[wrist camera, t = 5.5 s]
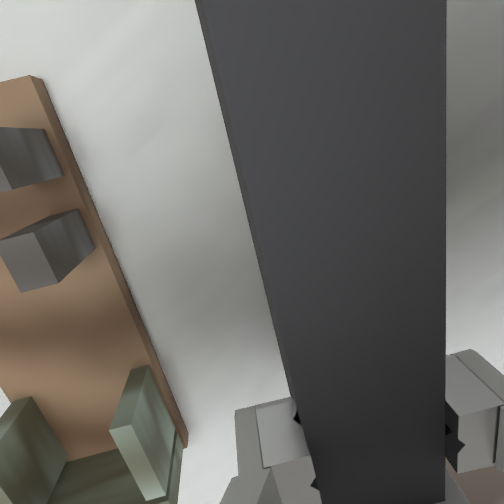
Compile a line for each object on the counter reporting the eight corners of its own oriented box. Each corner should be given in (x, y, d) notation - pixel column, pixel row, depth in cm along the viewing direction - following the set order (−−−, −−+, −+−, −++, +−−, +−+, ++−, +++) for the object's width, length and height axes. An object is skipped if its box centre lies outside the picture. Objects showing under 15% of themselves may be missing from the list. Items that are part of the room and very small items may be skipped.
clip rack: (-144, 124, 14) (-327, 118, 9) (41, 79, 14) (-45, 50, 9) (68, 466, 21) (26, 559, 16) (188, 433, 21) (180, 517, 17)
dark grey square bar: (166, -6, 6) (95, -195, 3) (368, -55, 6) (591, -311, 3) (303, 504, 12) (341, 668, 9) (405, 477, 12) (488, 628, 9)
